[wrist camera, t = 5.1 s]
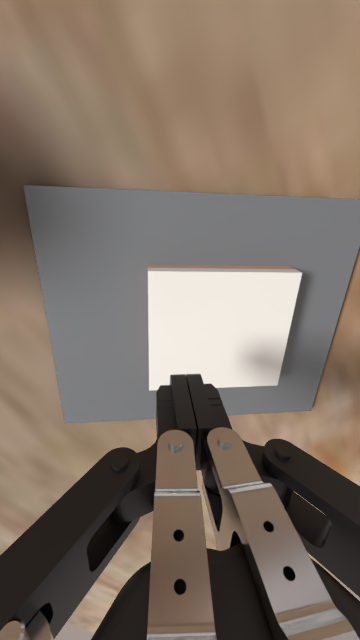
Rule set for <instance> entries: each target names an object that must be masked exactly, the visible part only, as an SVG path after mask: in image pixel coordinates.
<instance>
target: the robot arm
mask: <svg viewBox="0 0 360 640" xmlns="http://www.w3.org/2000/svg"><path fill="white" fill-rule="evenodd" d="M156 425H157V440H156V442H155V443H154V444H153V445H152V446H151V447H150V448H148V449H147V450H144V451H142V452H139V453H136V452H135V451H134V450H132V449H129V448H125V447H121V448H116V449H113V450H111V451H110V452H108V453H107V454H106V455H105V456H104V457H103V458H101V459H100V460H99V461H98V462H97V463H96V464H95V465H94V466H93V467H92V468H91V469H90V470H89V471H88V472H87V473H86V474H85V475H84V476H83V477H82V478H81V479H80V480H79V481H78V482H76V483H75V484H74V485H73V486H72V487H71V488H70V489H69V490H68V491H67V492H66V493H65V494H64V495H63V496H62V497H61V498H60V499H59V500H58V501H57V502H56V503H55V504H54V505H52V506H51V507H50V508H49V509H48V510H47V511H46V512H45V513H44V514H43V515H42V516H41V517H40V518H39V519H38V520H37V521H36V522H35V523H34V524H33V525H32V526H31V527H30V528H29V529H27V530H26V531H25V532H24V533H23V534H22V535H21V536H20V537H19V538H18V539H17V540H16V541H15V542H14V543H13V544H12V545H11V546H10V547H9V548H8V549H7V550H6V551H5V552H4V553H2V554H1V555H0V640H54V638H55V637H56V636H57V634H58V633H59V631H60V630H61V629H62V627H63V626H64V625H65V623H66V622H67V620H68V619H69V618H70V616H71V615H72V613H73V612H74V611H75V609H76V608H77V606H78V605H79V604H80V602H81V601H82V599H83V598H84V597H85V595H86V594H87V592H88V591H89V590H90V588H91V587H92V585H93V584H94V583H95V581H96V580H97V578H98V577H99V576H100V574H101V573H102V572H103V570H104V569H105V567H106V566H107V565H108V563H109V562H110V560H111V559H112V558H113V556H114V555H115V553H116V552H117V551H118V549H119V548H120V546H121V545H122V544H123V542H124V541H125V539H126V538H127V537H128V535H129V534H130V532H131V531H132V530H133V528H134V527H135V526H136V524H137V523H138V521H139V519H140V517H141V516H143V515H145V514H147V513H150V512H152V511H154V512H153V531H152V551H151V562H149V563H148V564H146V565H144V566H143V567H142V568H140V569H139V570H138V571H137V572H136V573H135V574H134V575H133V576H132V577H131V578H130V579H129V580H128V581H127V582H126V584H125V585H124V586H123V588H122V589H121V591H120V592H119V594H118V595H117V597H116V599H115V600H114V602H113V604H112V605H111V607H110V609H109V610H108V612H107V614H106V615H105V617H104V619H103V621H102V622H101V624H100V626H99V627H98V629H97V631H96V632H95V634H94V636H93V637H92V639H91V640H360V601H359V600H358V599H357V598H355V597H354V596H353V595H352V594H351V593H350V592H349V591H348V590H346V588H344V587H343V586H342V585H341V584H340V583H339V582H338V581H337V580H336V579H335V578H333V577H332V576H331V575H330V574H329V573H328V572H327V571H326V570H325V569H324V568H322V567H321V566H320V565H319V564H318V563H316V562H315V561H314V560H312V559H311V558H310V557H309V555H308V553H309V554H310V555H311V556H313V557H314V558H315V559H316V560H317V561H318V562H320V563H321V564H322V565H323V566H324V567H325V568H326V569H328V570H329V571H330V572H331V573H332V574H333V575H335V576H336V577H337V578H338V579H339V580H340V581H342V582H343V583H344V584H345V585H346V586H347V587H349V588H350V589H351V590H352V591H353V592H354V593H355V594H357V595H358V596H359V597H360V486H358V485H357V484H355V483H353V482H352V481H350V480H349V479H347V478H346V477H344V476H342V475H341V474H339V473H338V472H336V471H334V470H333V469H331V468H330V467H328V466H326V465H325V464H323V463H322V462H320V461H319V460H317V459H315V458H314V457H312V456H311V455H309V454H307V453H306V452H304V451H303V450H301V449H300V448H298V447H296V446H295V445H293V444H292V443H290V442H288V441H286V440H282V439H272V440H269V441H268V442H267V443H266V444H265V446H259V445H255V444H251V443H247V442H245V441H243V440H242V439H241V437H240V436H239V435H238V434H237V433H236V432H235V431H233V430H232V427H231V424H230V422H229V419H228V416H227V414H226V411H225V408H224V406H223V403H222V400H221V397H220V394H219V392H218V390H217V389H216V388H215V387H214V386H213V385H212V384H204V383H203V380H202V377H201V374H186V375H185V374H176V375H170V385H160V387H159V389H158V390H157V392H156ZM196 470H201V471H202V476H203V481H202V490H203V494H204V497H205V501H206V505H207V509H208V512H209V516H210V520H211V524H212V527H213V531H214V535H215V540H216V549H217V550H213V549H208V548H206V539H205V529H204V520H203V510H202V501H201V494H200V491H198V486H197V475H196ZM294 491H295V492H296V493H297V494H296V493H295V492H294ZM298 494H299V495H300V496H301V497H300V496H299V495H298ZM302 497H303V498H304V499H306V500H307V501H308V502H310V503H311V504H312V505H314V506H315V507H316V508H318V509H319V510H320V511H322V512H323V513H324V514H325V515H324V514H323V513H322V512H320V511H319V510H318V509H316V508H315V507H314V506H312V505H311V504H310V503H308V502H307V501H306V500H304V499H303V498H302ZM307 552H308V553H307Z"/></svg>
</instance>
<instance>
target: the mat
mask: <svg viewBox="0 0 360 640" xmlns="http://www.w3.org/2000/svg"><path fill="white" fill-rule="evenodd" d="M23 188H24V194H25V199H26V205H27V211H28V216H29V222H30V228H31V233H32V239H33V245H34V251H35V256H36V262H37V268H38V273H39V279H40V285H41V291H42V296H43V302H44V308H45V313H46V319H47V325H48V330H49V336H50V342H51V348H52V353H53V359H54V365H55V370H56V376H57V382H58V387H59V393H60V399H61V405H62V410H63V416H64V422H65V424H66V423H86V422H105V421H125V420H144V419H156V392H157V390H151V391H149V337H148V265H223V266H290V267H292V268H294V269H296V270H298V271H300V272H302V276H301V281H300V285H299V290H298V294H297V299H296V304H295V308H294V313H293V317H292V322H291V326H290V331H289V335H288V340H287V344H286V349H285V353H284V358H283V362H282V367H281V371H280V376H279V380H278V385H276V386H251V387H226V388H216V389H217V390H218V392H219V394H220V397H221V400H222V403H223V406H224V408H225V411H226V414H227V415H241V414H260V413H280V412H299V411H311V409H312V406H313V402H314V399H315V396H316V392H317V389H318V385H319V382H320V379H321V375H322V372H323V369H324V365H325V362H326V358H327V355H328V352H329V348H330V345H331V341H332V338H333V335H334V331H335V328H336V325H337V321H338V318H339V314H340V311H341V308H342V304H343V301H344V297H345V294H346V291H347V287H348V284H349V280H350V277H351V274H352V270H353V267H354V264H355V260H356V257H357V253H358V250H359V247H360V199H339V198H315V197H292V196H268V195H245V194H221V193H198V192H174V191H151V190H127V189H104V188H80V187H57V186H33V185H23Z"/></svg>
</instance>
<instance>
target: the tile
mask: <svg viewBox="0 0 360 640" xmlns="http://www.w3.org/2000/svg"><path fill="white" fill-rule="evenodd" d="M301 276H302V272H300V271H298V270H296V269H294V268H292V267H290V266H223V265H148V337H149V391H151V390H158V389H159V387H160V385H170V375H176V374H185V375H186V374H201V377H202V380H203V383H204V384H212V385H213V386H214V387H215V388H226V387H251V386H276V385H278V380H279V376H280V371H281V367H282V362H283V358H284V353H285V349H286V344H287V340H288V335H289V331H290V326H291V322H292V317H293V313H294V308H295V304H296V299H297V294H298V290H299V285H300V281H301Z"/></svg>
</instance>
